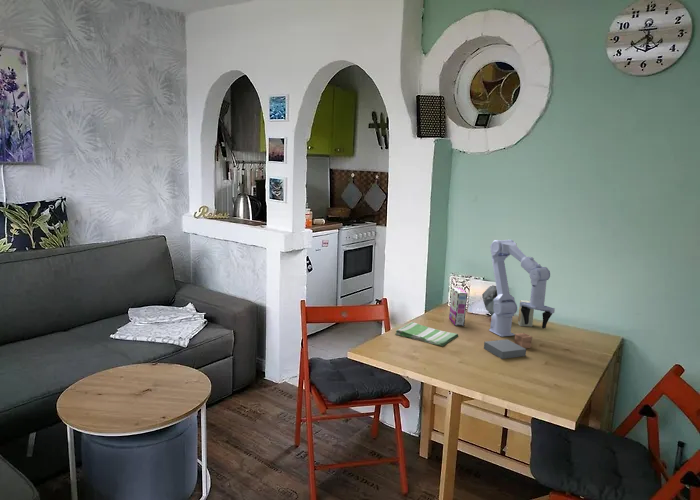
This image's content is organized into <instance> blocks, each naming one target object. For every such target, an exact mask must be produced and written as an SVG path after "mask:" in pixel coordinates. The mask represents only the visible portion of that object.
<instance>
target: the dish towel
mask: <svg viewBox="0 0 700 500" xmlns="http://www.w3.org/2000/svg"><path fill="white" fill-rule="evenodd" d="M395 335H398V336H401V337H404V338H409V339H413V340H417V341H420V342H424V343H427V344H430V345H431V344H432V345H435V346H441V347H443V346H445V345H447V344H448V343H449V342H450V341H452V340H454V339H457V338H458V337H459V334H458V333H456V332H449V331H444V330H440V329H437V328H433V327H430V326H426V325H424V324H423V325H422V324H420V323H416V322H414V321H411V322H410V323H407V324H406V325H404V326H402V327H400V328H399V329H396V330H395Z"/></svg>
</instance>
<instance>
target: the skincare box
mask: <svg viewBox="0 0 700 500" xmlns="http://www.w3.org/2000/svg"><path fill="white" fill-rule="evenodd" d="M520 302H526V303H530V300H526V299H525V300H524V299H522V300H519V303H520ZM521 308H522V307H519V309H518V319H517V320H518V322H517V324H518V325H519V326H520V327H533V321H534V311H535V309H530V313H529V322H528V324H527V325H525V322H524V317H523V314H522V312H521Z"/></svg>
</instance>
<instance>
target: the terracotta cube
mask: <svg viewBox="0 0 700 500" xmlns="http://www.w3.org/2000/svg"><path fill="white" fill-rule="evenodd" d="M514 334H515V335H514V341H513V343H515V344H517V345H519V346H521V347H523V348H525V349H530V348H532V340H533V336H532V335H530V334H527V333H525V332H523V333H522V332H521V333H514Z"/></svg>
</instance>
